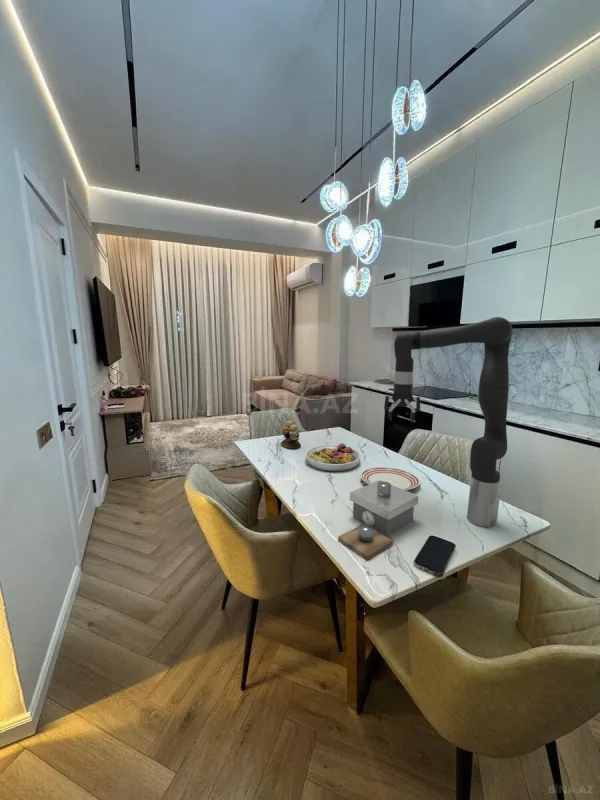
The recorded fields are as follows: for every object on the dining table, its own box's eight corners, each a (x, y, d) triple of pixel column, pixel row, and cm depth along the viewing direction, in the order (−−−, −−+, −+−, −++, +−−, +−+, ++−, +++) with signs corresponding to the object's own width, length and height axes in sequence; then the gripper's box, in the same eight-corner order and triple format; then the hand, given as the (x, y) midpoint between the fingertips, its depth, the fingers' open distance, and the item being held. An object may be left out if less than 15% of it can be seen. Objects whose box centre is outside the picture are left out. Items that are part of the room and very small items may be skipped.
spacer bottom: (393, 495, 124) (394, 485, 124) (383, 498, 122) (384, 488, 121) (383, 490, 129) (384, 480, 128) (374, 492, 126) (374, 483, 125)
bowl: (347, 478, 164) (348, 463, 162) (295, 466, 179) (295, 452, 177) (367, 459, 189) (368, 446, 188) (320, 450, 204) (320, 438, 203)
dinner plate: (370, 467, 177) (371, 462, 176) (424, 479, 163) (425, 472, 162) (351, 487, 153) (351, 481, 153) (412, 502, 140) (412, 495, 139)
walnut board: (393, 544, 111) (393, 540, 111) (367, 560, 103) (367, 556, 103) (363, 527, 121) (363, 523, 121) (338, 540, 113) (338, 536, 113)
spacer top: (376, 539, 111) (376, 528, 111) (366, 545, 108) (366, 533, 108) (365, 532, 115) (365, 522, 115) (355, 537, 112) (355, 527, 112)
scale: (412, 520, 126) (414, 500, 124) (384, 536, 115) (386, 515, 114) (379, 503, 138) (380, 486, 137) (351, 517, 128) (351, 498, 126)
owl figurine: (305, 448, 207) (305, 422, 203) (288, 451, 202) (288, 424, 198) (293, 440, 222) (293, 415, 219) (277, 443, 217) (276, 418, 214)
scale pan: (417, 503, 124) (418, 496, 124) (388, 520, 113) (388, 511, 113) (379, 487, 138) (379, 479, 138) (349, 500, 127) (350, 492, 127)
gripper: (420, 381, 138) (417, 419, 141) (385, 380, 141) (383, 417, 144) (423, 384, 131) (420, 423, 134) (386, 383, 134) (384, 421, 137)
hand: (401, 420), depth 139 cm, fingers open, 8 cm apart
